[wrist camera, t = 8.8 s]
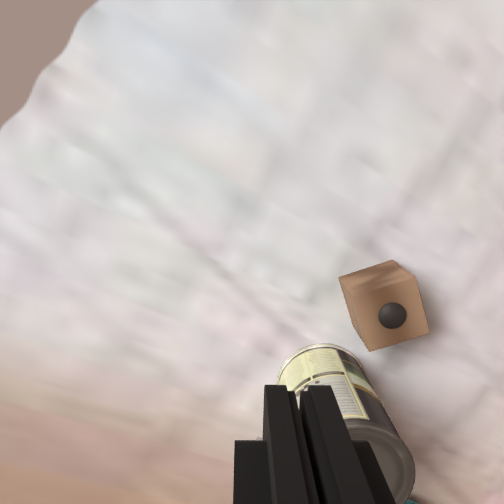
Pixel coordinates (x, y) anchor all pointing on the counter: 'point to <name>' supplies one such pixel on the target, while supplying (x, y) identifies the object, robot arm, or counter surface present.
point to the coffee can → (354, 408)
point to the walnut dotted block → (384, 305)
